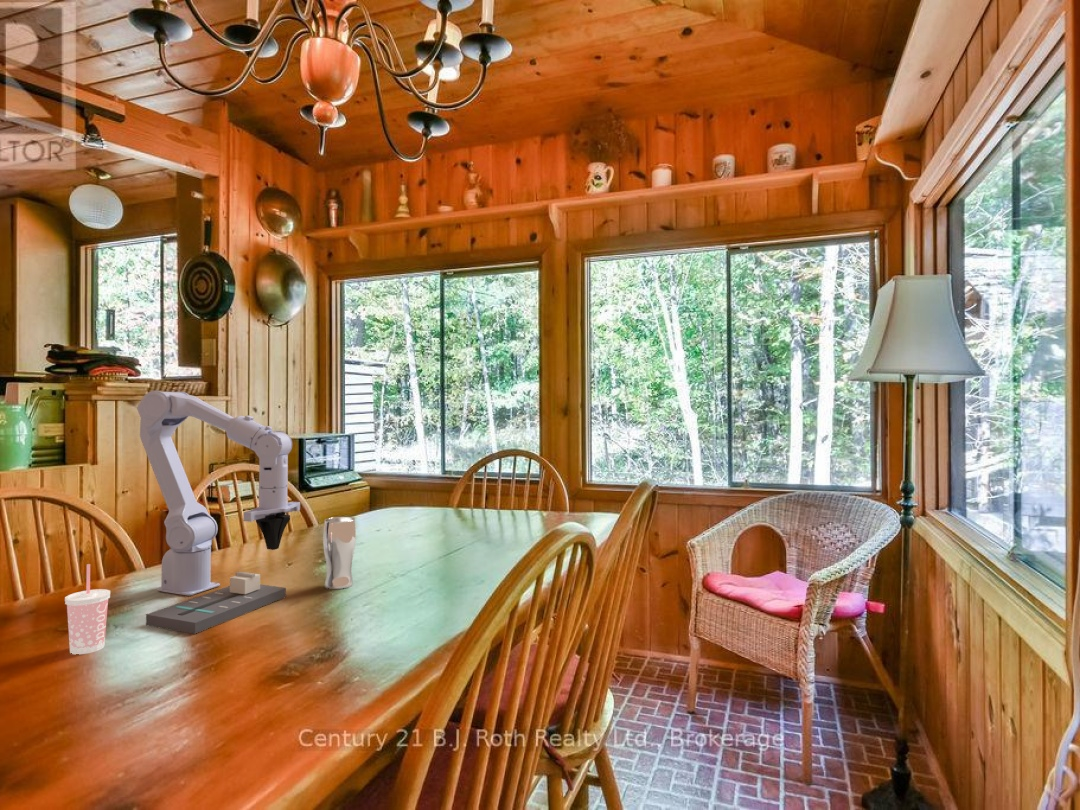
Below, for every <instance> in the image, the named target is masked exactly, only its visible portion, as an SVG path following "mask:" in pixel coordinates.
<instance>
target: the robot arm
mask: <svg viewBox="0 0 1080 810" xmlns="http://www.w3.org/2000/svg"><path fill="white" fill-rule="evenodd" d="M136 409H137V411H138V414H139V417H140V424H139V425H140V426H139V438H140V441H141V444H142V446H143V448H144V451H145V453H146V457H147V459H148V462H149V464H150V466H151V469H152V471H153V474H154V476H155V479H156V482H157V484H158V486H159V489H160V492H161V494H162V496H163V499H164V502H165V505H166V507H167V509H168V513H167V515H166V518H165V519H164V522H163V523H164V526H165V529H166V533H165V540H166V543H167V546H168V547H169V550H167V551H166V552H165V553H164V554H163V557H162V560H161V581H160V582H161V584H160V585H161V586H160V587H158V588H157V591H158V592H164V593H169V594H176V595H181V596H194V595H196V594H198V593H202V592H205V591H208V590H211V589H214V588H217V587H219V586H221V583H219V582H213V581H212V582H211V579H212V578H211V576H212V574H211V572H212V569H211V568H212V563H211V562H212V543H213V541H212V540H214V538H215V537H216V536H217V534H218V524H217V521H216V520H215V518H214V517H212V515H210V514H209V512H208V510H207V507H205V505H202V504H201V503H199V502H198V501H197V499H196V496H195V495H194V494H195V493H194V491H193V489H192V487H191V484H190V481H189V479H188V476H187V474H186V471H185V468H184V467H183V464H182V462H181V458H180V456H179V453H178V451H177V449H176V446H175V444H174V441H173V438H172V436H173V434H175V433H174V432H175V431H176V429H177V428H178V427H179V426H180V425H181V424H182V423H183V422H185V421H186V420H187V419H188V418H189V417H193V418H195V419H198V420H199V421H203V422H204V423H207V424H209V425H212V426H214V427H217V428H218V429H221V430H223V431H225V433H226V437H227V439H229V440H231V441H233V442H235V443H237V444H239V445H241V446H243V447H246V448H247V449H250V450H251V451H253V452H254V453H255V455H256V456H257V458H258V459H259V460H258V462H259V463H258V464H259V467H258V468H259V469H258V472H259V473H258V475H259V477H258V478H259V479H258V480H259V481H258V507H255V508H252V509H250V510H247V511H243V522H248V523H249V522H250V523H252V522H254V521H255V523H256V524H257V526H258V528H259V529H260V530H261V533H262V535H263V539H264V542H265V547H266V549H267V550H272V551H275V550H277V549H279V548H280V545H281V540H282V537H283V533H284V531H285V529H286V527H287V525H288V523H289V522H290V521H291V515H290V514H288V513H293V512H300V511H301V502H300V501H290V502H288V488H289V486H288V485H289V484H288V483H289V482H288V481H289V480H288V478H289V476H288V475H289V471H288V470H289V465H288V464H289V460H288V459H289V458H288V457H289V454H290V453H291V451H292V449H293V440H292V438H291V437H290V436H289V435H288V434H287V433H285V431H283V430H277V431H276V430H275V431H273V426H270V425H267V426H265V425H263V424H261V423H260V422H257V421H255V420H254V416H251V415H245V416H244V415H239V416H236V417H233V416H232V415H230V414H228V413H227V412H224V411H223V410H221V409H219V408H217V407H215V406H213V405H211V404H209V403H207V402H206V401H204V400H202V399H200V398H199V397H198V396H195V395H190V394H189V393H187V392H185V391H161V390H151V391H148V392H147V393H146V394H144V395H143V396H142V398H141V400H140V401H139V404H138V405H137V407H136Z"/></svg>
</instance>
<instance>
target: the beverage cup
mask: <svg viewBox="0 0 1080 810" xmlns="http://www.w3.org/2000/svg"><path fill="white" fill-rule="evenodd" d="M85 587H86V588H85V589H86V590H82V591H78V592H73V593H71V594H68V595H67V596H65V597H64V602H65V603H64V605H66V613H67V627H68V640H69V641H68V643H69V654H71V653H72V654H71V655H76V654H79V655H86V654H91V653H95V652H97V651H100V650H102V649H103V648H105V643H106V642H105V641H106V632H107V631H106V630H107V617H108V603H109V599H110V598H111V590H110V589H104V588H98V589H97V588H96V589H91V564H90V563H88V564H86V586H85Z"/></svg>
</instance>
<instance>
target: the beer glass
mask: <svg viewBox="0 0 1080 810" xmlns="http://www.w3.org/2000/svg"><path fill="white" fill-rule="evenodd" d="M356 536H357V533H356V520H355V517H352V516H334V517H333V516H332V517H328V518H324V525H323V537H322V541H323V544H322V545H323V552H324V558H325V563H326V576H325V582H324V588H326V589H328V588H329V590H344V589H348V588H350V586H351V587H352V586H353V585H354V580H353V575H352V566H353V565H352V564H353V560H354V559H353V558H354V555H355V549H356V547H355V546H356V540H357V539H356ZM343 588H344V589H343Z"/></svg>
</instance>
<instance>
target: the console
mask: <svg viewBox="0 0 1080 810" xmlns="http://www.w3.org/2000/svg"><path fill="white" fill-rule="evenodd" d="M284 597H285V598H287V587H284V586H283V587H282V586H275V585H268V584H267V585H266V584H262V583H260V589H258V590H256V591H253V592H250V593H248V594H239V593H232V592H230V585H229V586H225V587H223V588H220V589H219V588H218V589H217V590H213V591H211V592H209V593H205V594H202V595H200V596H197V597H193V598H191V599H188V600H185V601H182V602H178V603H175V604H173V605H171V606H170V605H169V606H167V607H163V608H161V609H158V610H155V611H153V612H150V613H147V614H145V616H146V617H145V626H147V625H149V626H148V627H154V628H158V627H160V628H159V629H165V630H169V629H170V631H177V632H180V631H181V632H180V633H187V634H192V635H197V634H199V633H201V631H202V632H204V631H207V630H209V629H211V628H210V627H212V628H214V627H216V626H215V625H217V626H218V624H219V625H221V624H224V623H226V622H229V621H231V620H233V618H234V619H236V618H238V616H239V617H241V616H244V615H246V614H248V613H250V611H251V612H253V611H255V609H256V610H258V609H261V608H263V607H265V605H266V606H267V604H268V605H270V603H271V604H273V603H275V602H274V601H276V602H278V601H280V600H283V599H285V598H284ZM282 598H283V599H282ZM279 599H280V600H279ZM277 600H278V601H277ZM272 602H273V603H272ZM262 606H263V607H262ZM260 607H261V608H260ZM245 613H246V614H245ZM243 614H244V615H243ZM235 617H236V618H235ZM230 619H231V620H230ZM228 620H229V621H228ZM225 621H226V622H225ZM223 622H224V623H223ZM220 623H221V624H220ZM213 626H214V627H213ZM208 628H209V629H208ZM206 629H207V630H206ZM203 630H204V631H203ZM198 632H199V633H198ZM196 633H197V634H196Z"/></svg>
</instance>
